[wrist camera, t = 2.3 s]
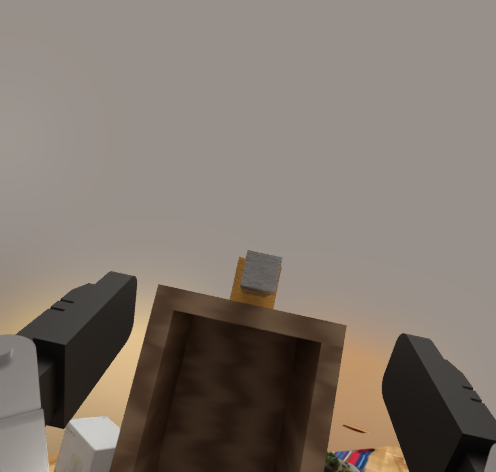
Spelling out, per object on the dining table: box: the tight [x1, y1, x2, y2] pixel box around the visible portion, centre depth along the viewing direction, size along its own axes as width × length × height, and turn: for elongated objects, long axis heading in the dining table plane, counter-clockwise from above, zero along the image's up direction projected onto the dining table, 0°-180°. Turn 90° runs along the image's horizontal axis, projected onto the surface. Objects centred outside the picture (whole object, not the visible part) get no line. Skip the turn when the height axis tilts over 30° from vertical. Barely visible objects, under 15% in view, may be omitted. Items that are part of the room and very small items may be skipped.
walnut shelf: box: [109, 285, 346, 472], centre depth 38 cm, size 18×16×32 cm
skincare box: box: [54, 416, 120, 472], centre depth 50 cm, size 10×6×10 cm, turn 46°
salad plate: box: [324, 452, 360, 472], centre depth 79 cm, size 19×18×5 cm
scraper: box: [230, 250, 282, 309], centre depth 35 cm, size 22×4×4 cm, turn 0°
